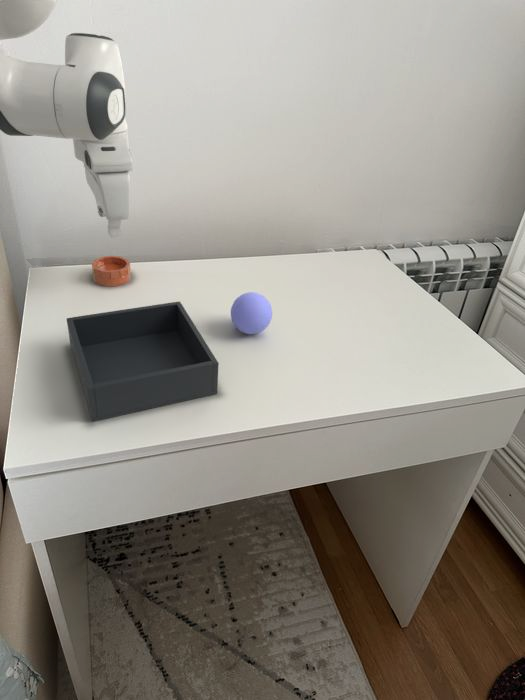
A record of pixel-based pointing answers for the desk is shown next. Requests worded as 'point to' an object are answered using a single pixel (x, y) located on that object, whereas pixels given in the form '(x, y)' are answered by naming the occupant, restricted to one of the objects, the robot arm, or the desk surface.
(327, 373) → the desk surface
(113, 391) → the tub
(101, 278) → the orange short cylinder
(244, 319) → the sphere
